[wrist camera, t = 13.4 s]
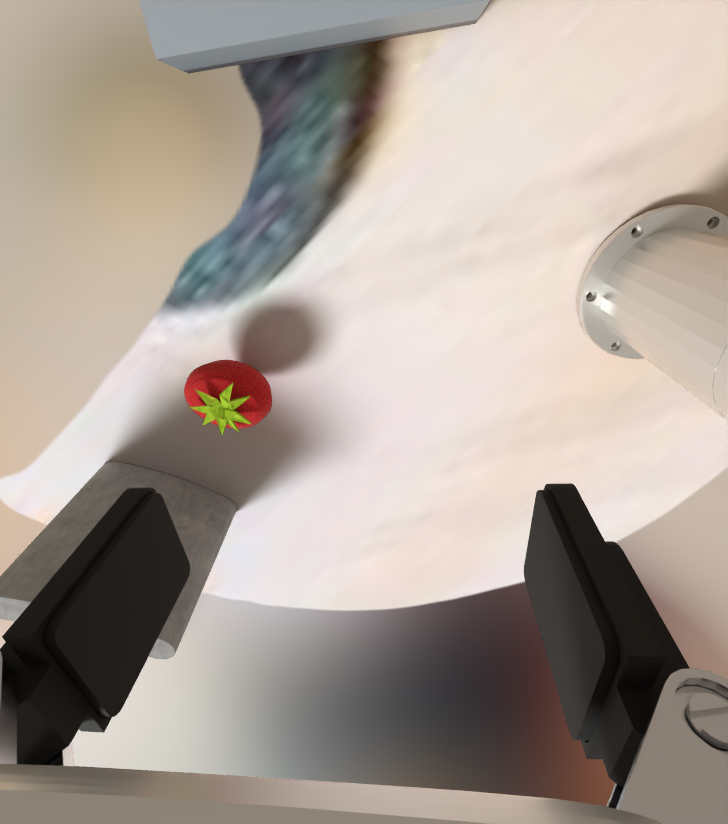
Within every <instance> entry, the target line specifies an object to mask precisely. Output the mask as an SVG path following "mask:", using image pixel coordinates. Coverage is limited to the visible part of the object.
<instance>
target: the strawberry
mask: <svg viewBox="0 0 728 824" xmlns="http://www.w3.org/2000/svg"><path fill="white" fill-rule="evenodd" d="M184 394H185V398H186V401H187V403H188V404H189V406H190V407H188V408H191V409H193V411H194V412H195V413H197V414H198V415H199V416H200V417H202V418H203V419H205V420H204V422H203V425H205V424H207V423H209V422H211V423H213V424H215V425H218V426H219V429H220V432H221V434H222V435H223V433H224V430H225V427H227V428H234V429H235V430H236V431H238V432H239V429H238V428H246V427H250V426H253V425H255V424H257V423H258V422H260V421H261V420H262V419H263V418H264V417H265V416H266V415H267V414H268V413H269V411H270V409H271V406H272V396H271V389H270V385H269V383H268V381H267V380H266V379H265V377H264V376H263V375H262V374H261V373H260V372H259V371H257V370H256V369H254V368H253V367H251V366H249V365H247V364H244V363H241V362H238V361H233V360H218V361H214V362H211V363H208V364H205V365H202V366H200V367H198V368H196V369H195V370H194V371H193V372H191V373H190V375H189V377H188V379H187V382H186V384H185V389H184ZM203 425H202V426H203Z"/></svg>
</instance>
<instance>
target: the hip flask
mask: <svg viewBox="0 0 728 824" xmlns="http://www.w3.org/2000/svg"><path fill="white" fill-rule="evenodd" d="M128 488H153V489H155V490H156V492H157V493H160V494H161V495H162V497H163V499H164V502H165V504H166V506H167V509H168V511H169V514H170V516H171V519H172V521H173V524H174V526H175V528H176V531H177V533H178V536H179V538H180V541H181V543H182V546H183V548H184V550H185V553H186V555H187V558H188V560H189V563H190V574H189V577H188V580H187V582H186V584H185V586H184V588H183V590H182V592H181V593H180V595H179V597H178V599H177V601H176V603H175V605H174V607H173V609H172V611H171V613H170V615H169V617H168V619H167V621H166V623H165V625H164V627H163V629H162V631H161V633H160V635H159V637H158V639H157V641H156V642H155V644H154V646H153V648H152V650H151V652H150V654H149V656H150V657H152V658H156V659H168V658H171V657H173V656H174V654H175V653H176V650H177V648H178V645H179V643H180V641H181V639H182V636H183V634H184V631H185V629H186V627H187V625H188V622H189V620H190V617H191V615H192V613H193V611H194V608H195V606H196V604H197V601H198V599H199V597H200V594H201V592H202V590H203V587H204V585H205V582H206V580H207V578H208V575H209V573H210V571H211V568H212V566H213V564H214V561H215V559H216V557H217V554H218V552H219V550H220V547H221V545H222V543H223V540H224V538H225V536H226V533H227V531H228V529H229V526H230V524H231V522H232V519H233V517H234V515H235V512H236V505H235V503H234V502H233V501H232V500H231V499H229V498H227V497H225V496H223V495H221V494H219V493H216V492H214V491H212V490H210V489H207V488H205V487H203V486H200V485H197V484H195V483H192V482H190V481H187V480H184V479H181V478H178V477H175V476H172V475H169V474H166V473H162V472H159V471H155V470H152V469H148V468H144V467H140V466H135V465H130V464H125V463H120V462H113V461H111V462H107V463H105V464H104V465H103V466H102V467H101V468H100V469H99V470H98V471H97V473H96V474H95V475H94V476H93V477H92V478H91V479H90V480H89V481H88V482H87V483H86V484H85V486H84V487H83V488H82V489H81V490H80V491H79V492H78V493H77V494H76V495H75V496H74V497H73V498H72V500H71V501H70V502H69V503H68V504H67V505H66V506H65V507H64V508H63V509H62V510H61V511H60V512H59V514H58V515H57V516H56V517H55V518H54V519H53V520H52V521H51V522H50V523H49V524H48V525H47V527H46V528H45V529H44V530H43V531H42V532H41V533H40V534H39V535H38V536H37V537H36V538H35V539H34V541H33V542H32V543H31V544H30V545H29V546H28V547H27V548H26V549H25V550H24V551H23V553H22V554H21V555H20V556H19V557H18V558H17V559H16V560H15V561H14V562H13V563H12V564H11V565H10V567H9V568H8V569H7V570H6V571H5V572H4V573H3V574H2V575H1V576H0V619H5V620H11V621H16V620H17V619H18V617H19V616H20V615H21V614H22V613H23V611H24V610H25V609H26V608H27V607H28V605H29V604H30V603H31V602H32V601H33V599H34V598H35V597H36V596H37V595H38V593H39V592H40V591H41V590H42V589H43V588H44V586H45V585H46V584H47V583H48V582H49V580H50V579H51V578H52V577H53V576H54V574H55V573H56V572H57V571H58V570H59V568H60V567H61V566H62V565H63V564H64V562H65V561H66V560H67V559H68V558H69V557H70V555H71V554H72V553H73V552H74V551H75V549H76V548H77V547H78V546H79V545H80V543H81V542H82V541H83V540H84V539H85V537H86V536H87V535H88V534H89V533H90V531H91V530H92V529H93V528H94V527H95V525H96V524H97V523H98V522H99V521H100V520H101V518H102V517H103V516H104V515H105V514H106V512H107V511H108V510H109V509H110V508H111V506H112V505H113V504H114V503H115V502H116V500H117V499H118V498H119V497H120V496H121V494H122V493H123V492H124V491H125V490H126V489H128Z"/></svg>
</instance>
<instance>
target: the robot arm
mask: <svg viewBox="0 0 728 824" xmlns="http://www.w3.org/2000/svg"><path fill="white" fill-rule="evenodd" d="M708 220H709V221H708ZM707 222H708V223H707ZM633 228H634V232H633V233H631V232H632V229H633ZM589 292H590V294H589V296H587V294H588V293H589ZM586 296H587V297H586ZM577 312H578V316H579V320H580V324H581V326H582V328H583V330H584V331H585V333H586V335H587V336H588V337H589V338H590V339H591V340H592V341H593V342H594V343H595V344H596V345H597V346H599V347H600V348H601V349H602V350H604V351H606V352H607V353H609V354H611V355H615V356H618V357H622V358H628V359H647V360H648V361H650V362H651V363H652V364H653V365H655V366H656V367H657V368H659V369H660V370H661V371H663V372H664V373H665V374H666V375H668V376H669V377H670V378H672V379H673V380H674V381H676V382H677V383H678V384H680V385H681V386H682V387H683V388H685V389H686V390H687V391H689V392H690V393H691V394H693V395H694V396H695V397H696V398H698V399H699V400H700V401H702V402H703V403H704V404H706V405H707V406H708V407H710V408H711V409H712V410H713V411H715V412H716V413H717V414H719V415H720V416H721V417H723V418H724V419H725V420H726V421H728V217H727V216H726V215H724V214H723V213H721V212H719V211H716V210H714V209H712V208H709V207H704V206H699V205H690V204H675V205H668V206H663V207H659V208H656V209H653V210H650V211H647V212H645V213H643V214H641V215H639V216H637V217H635V218H633V219H631V220H630V221H628V222H627V223H625V224H624V225H623V226H621V227H620V228H618V229H617V230H616V231H615V232H614V233H613V234H612V235H610V236H609V237H608V238H607V239H606V240H605V241H604V242H603V243H602V245H601V246H600V247H599V248H598V250H597V251H596V252H595V254H594V255H593V256H592V258H591V260H590V262H589V263H588V265H587V267H586V269H585V271H584V273H583V276H582V279H581V282H580V284H579V290H578V295H577ZM613 343H614V344H613ZM189 574H190V563H189V560H188V558H187V555H186V553H185V550H184V548H183V546H182V543H181V541H180V538H179V536H178V533H177V531H176V528H175V526H174V524H173V521H172V519H171V516H170V514H169V511H168V509H167V506H166V504H165V502H164V499H163V497H162V495H161V494H160V493H157V492H156V490H155V489H153V488H128V489H126V490H125V491H124V492H123V493H122V494H121V496H120V497H119V498H118V499H117V500H116V502H115V503H114V504H113V505H112V506H111V508H110V509H109V510H108V511H107V512H106V514H105V515H104V516H103V517H102V518H101V520H100V521H99V522H98V523H97V524H96V525H95V527H94V528H93V529H92V530H91V531H90V533H89V534H88V535H87V536H86V537H85V539H84V540H83V541H82V542H81V543H80V545H79V546H78V547H77V548H76V549H75V551H74V552H73V553H72V554H71V555H70V557H69V558H68V559H67V560H66V561H65V562H64V564H63V565H62V566H61V567H60V568H59V570H58V571H57V572H56V573H55V574H54V576H53V577H52V578H51V579H50V580H49V582H48V583H47V584H46V585H45V586H44V588H43V589H42V590H41V591H40V592H39V593H38V595H37V596H36V597H35V598H34V599H33V601H32V602H31V603H30V604H29V605H28V607H27V608H26V609H25V610H24V611H23V613H22V614H21V615H20V616H19V617H18V619H17V620H16V621H15V622H14V623H13V625H12V626H11V627H10V628H9V629H8V630H7V632H6V633H5V634H4V635H3V636H2V637H3V639H4V640H5V641H6V643H5V644H4V645H3V646H2V648H1V649H0V824H728V679H725V678H723V677H721V676H719V675H717V674H714V673H712V672H709V671H705V670H701V669H696V668H689V666H688V664H687V663H686V661H685V659H684V658H683V656H682V654H681V652H680V650H679V649H678V647H677V645H676V643H675V641H674V640H673V638H672V636H671V634H670V633H669V631H668V629H667V627H666V626H665V624H664V622H663V620H662V619H661V617H660V616H659V613H658V612H657V610H656V608H655V607H654V605H653V603H652V601H651V599H650V597H649V596H648V594H647V592H646V591H645V589H644V587H643V585H642V584H641V582H640V580H639V578H638V576H637V575H636V573H635V571H634V569H633V568H632V566H631V564H630V562H629V561H628V559H627V557H626V555H625V553H624V552H623V550H622V549H621V548H620V546H619V545H617V543H615V542H605V541H604V539H603V537H602V535H601V533H600V532H599V530H598V528H597V526H596V524H595V522H594V520H593V519H592V517H591V515H590V513H589V511H588V509H587V507H586V505H585V504H584V502H583V500H582V498H581V496H580V494H579V492H578V490H577V489H576V487H575V486H574V485H573V484H546V486H545V488H544V490H538V491H537V493H536V499H535V505H534V511H533V517H532V523H531V529H530V535H529V541H528V547H527V553H526V559H525V565H524V577H525V582H526V586H527V589H528V593H529V596H530V599H531V602H532V606H533V609H534V613H535V616H536V619H537V623H538V626H539V629H540V633H541V637H542V640H543V643H544V647H545V650H546V654H547V657H548V660H549V663H550V667H551V671H552V674H553V677H554V681H555V684H556V687H557V691H558V694H559V698H560V701H561V705H562V708H563V711H564V715H565V718H566V722H567V725H568V728H569V731H570V733H571V736H572V738H573V739H575V740H581V742H582V745H583V748H584V751H585V755H586V758H587V759H603V761H604V764H605V767H606V770H607V773H608V776H609V777H610V778H611V779H612V780H613V781H614V782H615V786H614V788H613V791H612V794H611V796H610V799H609V802H608V804H607V807H605V806H601V805H593V804H587V803H580V802H573V801H566V800H559V799H550V798H539V797H528V796H516V795H504V794H493V793H483V792H471V791H458V790H444V789H443V790H442V789H429V788H414V787H399V786H384V785H371V784H355V783H341V782H326V781H311V780H295V779H279V778H264V777H263V778H262V777H248V776H231V775H215V774H198V773H183V772H166V771H165V772H164V771H148V770H131V769H113V768H96V767H79V766H74V759H73V748H72V740H73V738H74V736H75V734H76V733H77V731H78V729H80V730H81V731H88V732H104V731H105V729H106V727H107V726H108V724H109V722H110V720H111V718H112V717H114V716H115V715H117V714H118V713H119V712H120V710H121V709H122V707H123V705H124V703H125V701H126V699H127V697H128V695H129V693H130V691H131V689H132V687H133V685H134V684H135V682H136V680H137V678H138V676H139V674H140V672H141V669H142V668H143V666H144V664H145V662H146V660H147V658H148V656H149V654H150V652H151V650H152V648H153V646H154V644H155V642H156V641H157V639H158V637H159V635H160V633H161V631H162V629H163V627H164V625H165V623H166V621H167V619H168V617H169V615H170V613H171V611H172V609H173V607H174V605H175V603H176V601H177V599H178V597H179V595H180V593H181V592H182V590H183V588H184V586H185V584H186V582H187V580H188V577H189Z"/></svg>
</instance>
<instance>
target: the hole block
mask: <svg viewBox="0 0 728 824" xmlns="http://www.w3.org/2000/svg"><path fill="white" fill-rule="evenodd" d="M139 1H140V5H141V8H142V12H143V15H144V19H145V22H146V26H147V29H148V33H149V36H150V40H151V43H152V47H153V50H154V54H155V57H156V59H157V60H159V61H162V62H164V63H166V64H168V65H171V66H173V67H175V68H178V69H180V70H182V71H184V72H187V73H194V72H199V71H205V70H211V69H217V68H223V67H228V66H234V65H240V64H246V63H252V62H257V61H263V60H269V59H275V58H280V57H286V56H292V55H297V54H303V53H309V52H315V51H320V50H326V49H332V48H338V47H343V46H349V45H355V44H361V43H366V42H372V41H378V40H384V39H389V38H395V37H401V36H407V35H412V34H418V33H424V32H430V31H435V30H441V29H447V28H453V27H458V26H464V25H470V24H475V23H476V21H477V20H478V18H479V17H480V15H481V14H482V12H483V11H484V9H485V7H486V6H487V4H488V3H489V1H490V0H139Z"/></svg>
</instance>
